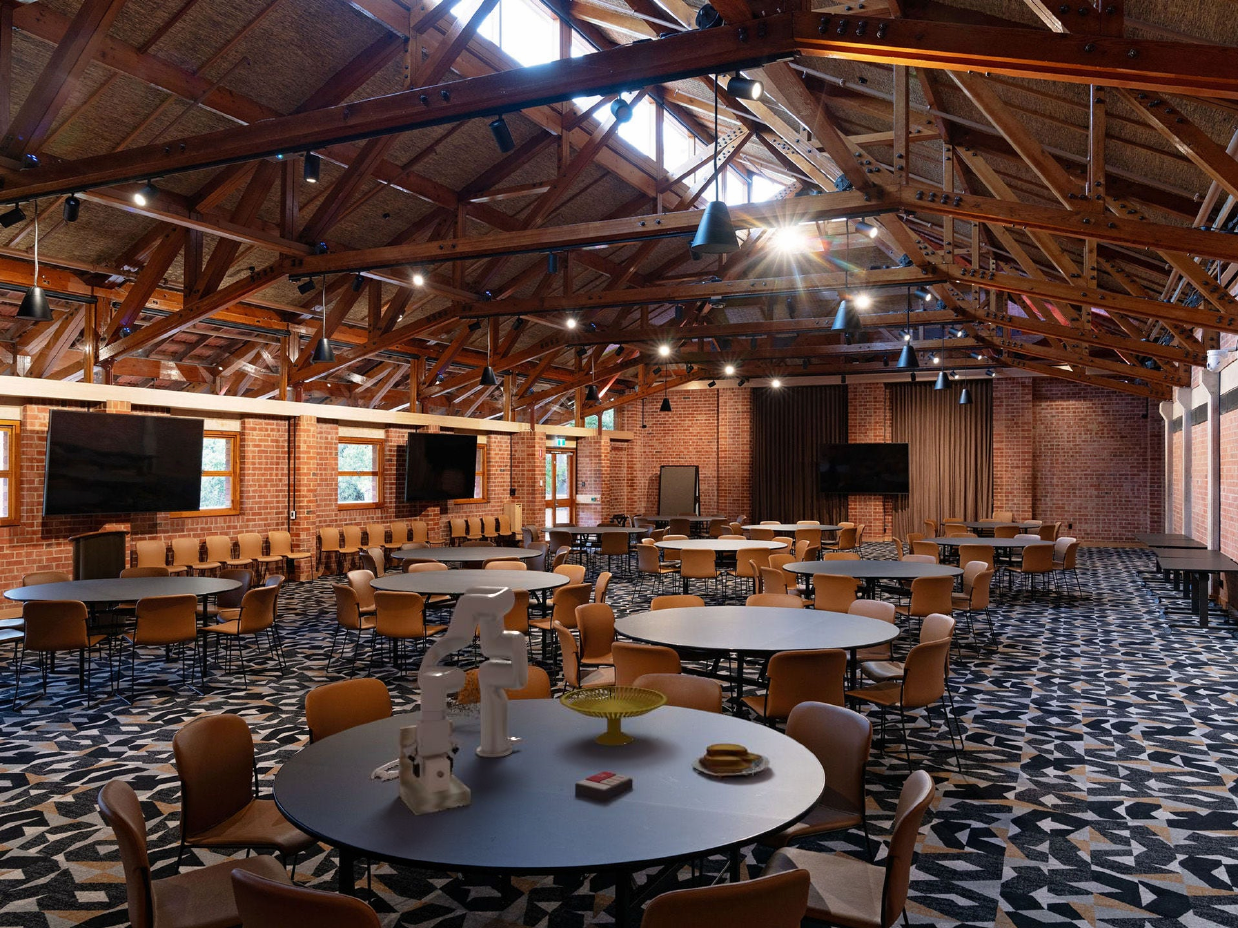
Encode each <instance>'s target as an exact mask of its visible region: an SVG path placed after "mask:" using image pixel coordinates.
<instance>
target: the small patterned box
mask: <svg viewBox="0 0 1238 928" xmlns="http://www.w3.org/2000/svg"><path fill="white" fill-rule="evenodd" d="M633 783H634V781H633V778H631V776H627V775H626V776H625V775H623V774H617V773H613V772H609V771H605V770H604V771H602V772H599V773H596V774H594V775H591V776H589V777H587V778H585V779H582V780H580V781H577V782H576V783H575V784H574V788H575V789H574V795H575V796H577V797H580V798H584V799H587V800H591V801H596V802H599V803H603V804H606V803H607V802H609V801H611V800H612V799H614V798H615V797H617V796H619V795H622V794H624V793H625V792H627V791H630V790H631V788H632V789H633V786H634V785H633ZM610 799H611V800H610Z"/></svg>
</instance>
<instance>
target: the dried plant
mask: <svg viewBox="0 0 1238 928" xmlns="http://www.w3.org/2000/svg"><path fill="white" fill-rule="evenodd" d="M481 658H482V656H479V658H478V660H477V661H476V663H475V666H474V667H473V668H472V670H475V668H476V666H478V664H479V663H480V660H481ZM532 665H533V666H535V663H534V662H532ZM528 668H531V664H530V663H528ZM465 675H466V676H467V677H465V683H464V685H465V686H463V687H462V688H463V689H460V690H459V691H457V692H454V693H448V694H447V703H448V704H447V705H446V708H448V709H451V713H449V714H447V717H451V718H453V717H454V716H459V717H461V716H462V714H463V713H464V712H466V714H465V717H468V718H470V717H472V718H474V719H475V720H480V717H477V716H472V715H470V713H472V714H474V712H476V714H477V715H479V714H480V715H481V708H478V706H477V704H478V702H479V703H481V700H480V701H478V700H479V699H481V696H480V697H479V695H481V692H480V687H479V686H480V684H479V679H478V677H476V678H473V676H474V675H475V672H472V671H468V672H466V671H465ZM467 678H468V679H467ZM469 679H470V680H469ZM475 679H476V680H475ZM466 680H467V682H468V683H467V682H466ZM475 681H476V682H475ZM470 686H472V687H470ZM477 686H478V687H477ZM468 687H470V691H469V689H468ZM474 691H475V692H474ZM506 691H507V692H509V691H510V689H506ZM460 696H462V697H463V696H464V697H463V698H461V699H459V697H460ZM466 698H470V699H468V700H466ZM454 700H455V701H454ZM463 700H464V701H463ZM453 701H454V702H453ZM473 702H474V703H473ZM471 705H473V706H472V707H471ZM467 707H468V708H467ZM477 708H478V709H477ZM456 710H458V711H459V712H458V713H457V712H456ZM452 711H453V713H452ZM455 712H456V713H455ZM451 718H450V719H451Z"/></svg>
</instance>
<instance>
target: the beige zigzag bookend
mask: <svg viewBox="0 0 1238 928" xmlns="http://www.w3.org/2000/svg"><path fill="white" fill-rule="evenodd" d="M453 723H454V721H453V720H451V719H449V724H450V730H451V736H452V737H454V735H453V734H454V733H453V728H454V727H453V725H454V724H453ZM416 726H417V724H415V725H409V726H402V727H399V728H398V734H399V735H398V759H399V765H398V770H399V777H398V796H400V797H401V798H400V797H399V798H400V799H401V800H402V801H403V802H404V804H405V803H406V804H405V805H406V806H407V807H408V808H409V810H410V811H411V812H412V813H413V814H414V815H415V816H420V815H424V814H425V815H426V814H430V813H434V812H439V810H440V811H444V810H448V809H447V808H450V809H454V807H455V808H458V807H457V806H460V807H463V805H464V806H468V805H471V803H472V802H471V799H472V796H471V795H472V794H471V793H472V792H471V789H470V788H469V787H468V786H467V785H466V784H464V783H463V782H462V781H461V780H460V779H459V778H458V777H456V776H455V775H454V774H453V771H452V772H450V789H448V790H443V791H438V792H433V793H429V792H428V791H427V790H426V789H425V788H424V787H423V786H422V785H421V784H420V783H419V782H418V781H417V777H416V776H415V775H414V774H413V762H412V761H411V760H409V759H408V758H407V756H406V754H405V752H404V749H405V748H406V747H408V746H409V745H411V744H412V743H413V742H415V732H416ZM453 744H454V742H451V750H452V749H453V748H454V746H453ZM410 753H411V755H412V756H414V755H415V754H416V752H415V750H414V749H413V750H411V751H410ZM442 755H443V756H444V757H447V756H448V754H447V753H442Z"/></svg>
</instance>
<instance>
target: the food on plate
mask: <svg viewBox="0 0 1238 928" xmlns="http://www.w3.org/2000/svg"><path fill="white" fill-rule="evenodd" d="M770 763H771V761H770V759H769V758H768V757H767V756H765V755H762V754H758V753H754V752H751V751H750V752H749V751H748V748H746V746H743V745H740V744H736V743H715V744H714V743H713V744H710V745H709V746H707V747H706V753H705V754H704V755H703V756H700V757H697V758H696V760H694V761H693V762H692V764H691V767H692V768H695V769H697V770H699V771H701V772H703V773H705V774H709V775H711V776H714V777H716V776H717V777H718V778H717V779H718V781H721V780H722V777H723V776H725V777H728V776H729V777H730V776H732V777H733V776H743V775H745V776H749V774H752V777H754V774H757V772H761V771H762V770H763V771H766V769H767V768H768V767H769V765H770ZM703 768H704V769H703ZM707 768H708V769H707ZM705 769H707V770H705Z"/></svg>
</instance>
